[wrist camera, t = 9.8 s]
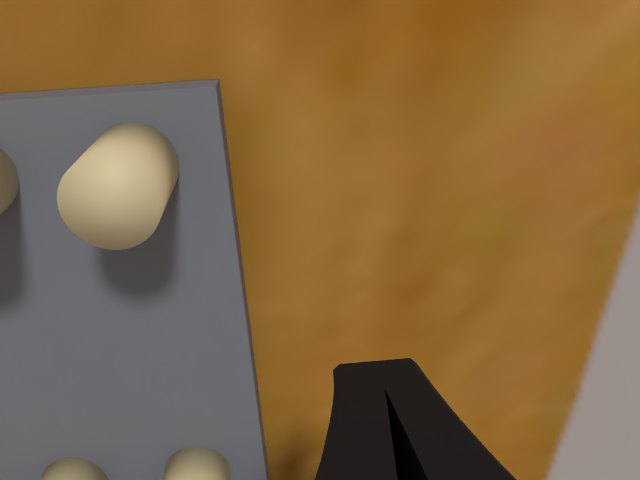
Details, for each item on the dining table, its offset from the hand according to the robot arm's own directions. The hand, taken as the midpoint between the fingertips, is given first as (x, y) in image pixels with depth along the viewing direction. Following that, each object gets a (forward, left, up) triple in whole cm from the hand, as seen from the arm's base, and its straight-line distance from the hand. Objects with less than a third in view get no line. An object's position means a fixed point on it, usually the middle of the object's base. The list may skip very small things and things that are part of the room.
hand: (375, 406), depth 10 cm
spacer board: (-4, +14, -9) cm, 17 cm away
